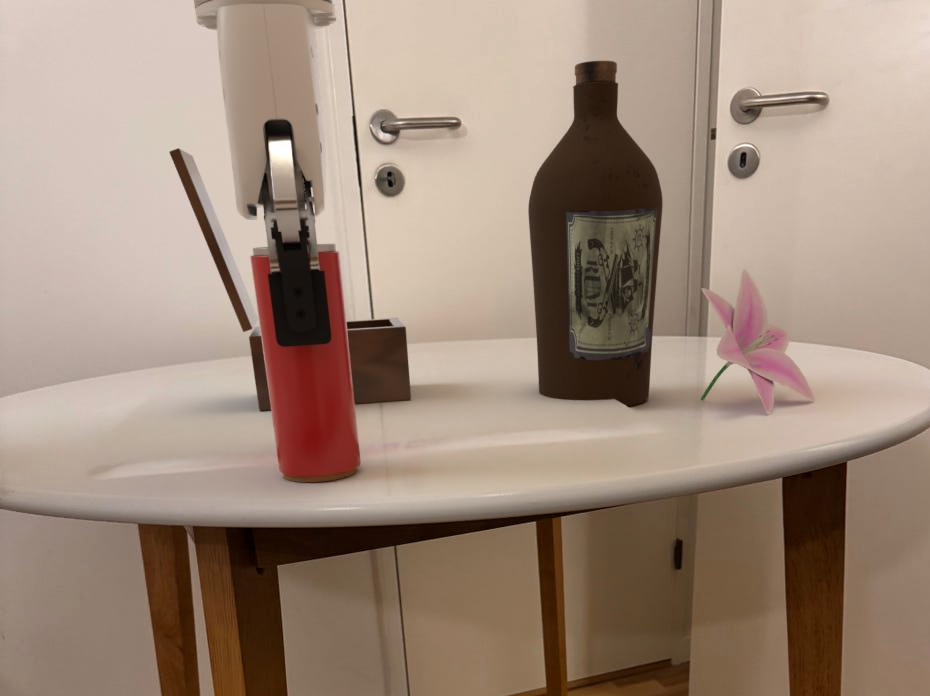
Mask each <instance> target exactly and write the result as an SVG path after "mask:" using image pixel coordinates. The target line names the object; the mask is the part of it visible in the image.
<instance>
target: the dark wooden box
mask: <svg viewBox="0 0 930 696" xmlns="http://www.w3.org/2000/svg"><path fill="white" fill-rule="evenodd" d="M346 321H347V331H348V341H349V351H350V361H351V371H352V381H353V391H354V401H355V406H358V405H371V404H372V405H373V404H383V403H384V404H385V403H397V402H410V401H412V392H411V381H410V379H411V378H410V366H409V352H408V340H407V327H406V325H405V324H403V322H402V321H401V319H399V318H398V317H388V318H387V317H385V318H370V319H355V320H353V319H352V320H346ZM248 340H249V348H250V354H251V355H250V356H251V361H252V367H253V376H254V377H253V378H254V383H255V389H256V390H255V391H256V397H257V404H258V411H259V412H260V413H262V412H263V413H264V412H271V405H270V397H269V390H268V383H267V375H266V368H265V361H264V353H263V346H262V339H261V331H260V325H258V326H254V327H253V329H252V331H251V333H250V334H249V336H248Z"/></svg>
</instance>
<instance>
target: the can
mask: <svg viewBox="0 0 930 696" xmlns="http://www.w3.org/2000/svg"><path fill="white" fill-rule="evenodd" d="M307 248H308V244H307ZM317 249H318V258H319V267H320V271H323V270H324V272H325V282H326V291H327V300H328V309H329V318H330V328H331V341H330V342H329V343H327V344H318V345H303V346H288V347H282V346H280V345H279V344H278V343H277V341H276V334H275V326H274V319H273V311H272V303H271V296H270V288H269V281H268V274H271V268H270V261H269V252H268V246H259V247H252V253H253V254H251V255H250V258H249V259H250V264H251V265H250V266H251V271H252V272H251V273H252V280H253V287H254V293H255V294H254V295H255V302H256V307H257V309H256V310H257V318H258V321H259V326H260V331H261V339H262V346H263V353H264V361H265V368H266V375H267V383H268V390H269V397H270V405H271V411H270V412H271V419H272V426H273V433H274V440H275V446H276V447H275V448H276V455H277V462H278V471H279V472H280V473H281V474H282V475H283V474H286V475H290V476H297V477H318V476H328V475H335V474H340V473H344V472H348V471H351V470H353V469H355V468H357V469H358V467H360V465H361V463H362V462H361V453H360V443H359V442H360V441H359V433H358V432H359V431H358V423H357V414H356V413H357V411H356V405H355V401H354V391H353V381H352V371H351V361H350V351H349V341H348V331H347V321H348V320H347V312H346V311H347V310H346V303H345V301H346V300H345V292H344V282H343V281H344V280H343V271H342V262H341V253H340V250H337V245H336V243H317ZM308 256H309V250H308ZM309 264H310V263H309ZM280 269H281V268H280ZM310 271H311V267H310Z"/></svg>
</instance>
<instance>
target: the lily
mask: <svg viewBox="0 0 930 696" xmlns="http://www.w3.org/2000/svg"><path fill="white" fill-rule="evenodd" d="M701 291H702V293H703V295H704V296H705V298H706V299H707V301H708V303H709V304H710V305H711V306H712V308H713V310H714V311H715V313H716V314H717V316H718V317H719V319H720V321H721V323H722V324H723V325H724V327H725V330H724V332H723V334H722V336H721V338H720V340H719V342H718V344H717V347H716V355H717V356H718V358H720V359H722V360H724V361H725V362H726V363H725V364H724V365H723V367H721V369H719V371H718V372H717V373H716V375H715V376H713V378H712V380H711V382H710V383H709V385H708V386H707V388H706V389H705V390H704V392H703V394H702V396H701V397H700V400H701V401H705V399H706V397H707V396H708V395H709V392H710V391H711V390H712V388H713V387H714V385H715V384H716V382H717V381H718V380H719V378H720V376H722V374H723V373H724V372H725V371H726V370H727V369H728V368H729V367H730V366H731V365H733V364H735V365H738V366H740V367H743V368H744V369H746V370H747V371H748V374H749V375H750V378H751V379H752V381H753V384H754V386H755V388H756V391H757V393H758V395H759V397H760V400H761V403H762V405H763V408H764V410H765V412H766V414H767V416H769V415H771V413H772V410H773V407H774V403H775V396H776V387H775V383H776V384H779V385H781V386H784V387H786V388H788V389H790V390H791V391H794V392H795V393H797V394H798V395H800V396H801V397H803V398H805V399H806V400H808V401H810V402H812V403H815V402H816V400H815V396H814V393H813V391H812V388H811V387H810V385H809V383H808V380H807V379H806V378H805V376H804V373H803V372H802V371H801V369H800V367H799V366H798V365H797V364H796V363H795V361H794V359H792V358H791V357H790V356H789V355H787V353H786V351H787V349H788V347H789V344H790V335H789V333H788V332H787V331H785V329H783V328H781V327H779V326H777V325H774V324H772V323H769V320H768V319H769V318H768V311H767V308H766V304H765V302H764V299H763V297H762V295H761V292H760V290H759V288H758V286H757V285H756V282H755V281H754V279H753V278H752V276H751V274H750V273H749V272H748V271H747V270H746V269H742V272H741V275H740V283H739V288H738V293H737V296H736V301H735V305H734V306H733V304H731V302H729V301H728V300H727V299H725V298H724V297H722V296H721V295H719V294H717V293H716V292H714V291H712V290H711V289H708V288H705V287H701Z"/></svg>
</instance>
